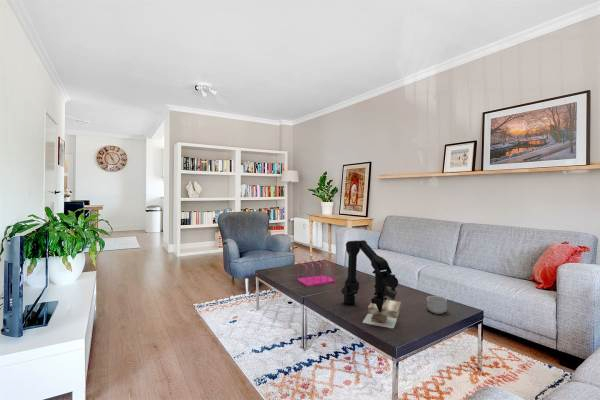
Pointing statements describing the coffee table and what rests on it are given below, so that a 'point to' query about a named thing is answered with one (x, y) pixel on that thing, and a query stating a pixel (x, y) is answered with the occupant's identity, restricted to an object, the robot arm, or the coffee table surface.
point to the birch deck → (386, 309)
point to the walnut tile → (379, 318)
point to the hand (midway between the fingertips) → (380, 311)
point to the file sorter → (316, 279)
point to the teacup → (437, 304)
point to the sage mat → (389, 323)
